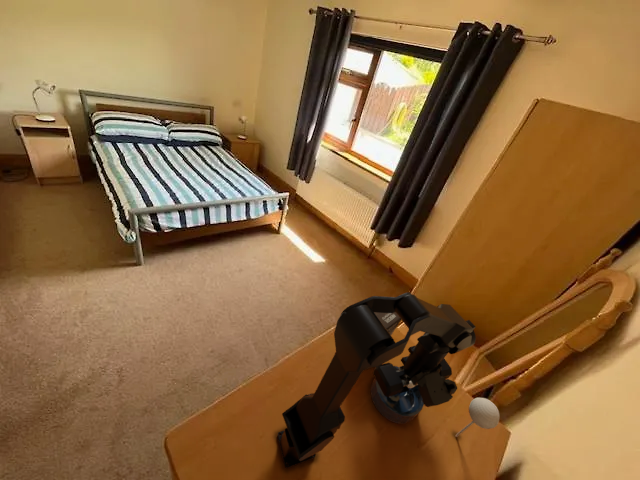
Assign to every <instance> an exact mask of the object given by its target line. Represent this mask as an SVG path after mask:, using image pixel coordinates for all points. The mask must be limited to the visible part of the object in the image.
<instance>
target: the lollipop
mask: <svg viewBox="0 0 640 480" xmlns="http://www.w3.org/2000/svg"><path fill="white" fill-rule="evenodd" d="M468 414H469V417H470V419H471V421H470V422H469V423H468V424H467V425H465V426H464V427H463V428H462V429H461V430H460V431H458V432H457V433H456V434H455V435H454V436H455V437H456V438H458V437H459V436H460V435H461V434H463V433H464V432H465V431H467V429H469V428H470V427H471V426H472V425H474V424H475V425H476V426H478V427H479V428H481V429H484V430H485V429H486V430H492V429H495V428H496V427H498V425H499V423H500V416H501V415H500V411H499V409H498V407H497V406H496V404H495V403H494V402H492V400H490V399H489V398H487V397H474V398H473V399H472V400H471V401H470V404H469V406H468Z"/></svg>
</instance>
